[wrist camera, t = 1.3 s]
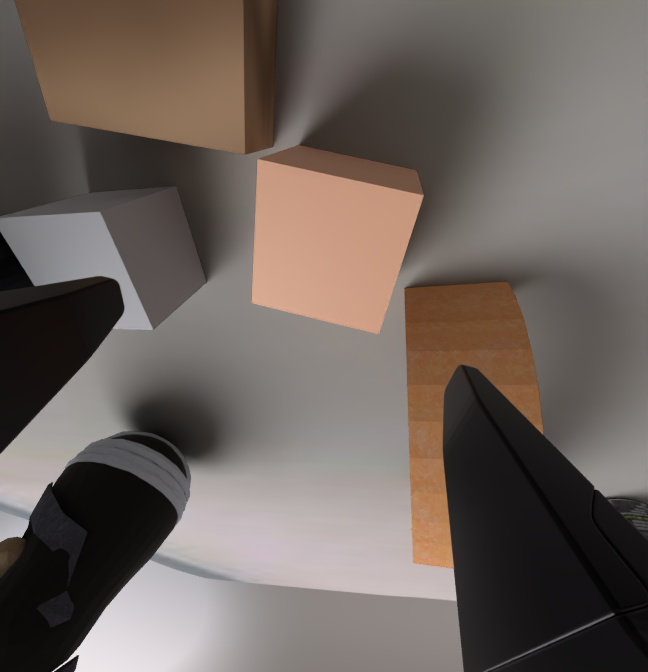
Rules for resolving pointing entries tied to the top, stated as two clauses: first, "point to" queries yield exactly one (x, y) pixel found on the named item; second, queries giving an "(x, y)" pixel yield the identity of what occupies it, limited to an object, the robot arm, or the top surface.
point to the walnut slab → (159, 67)
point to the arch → (434, 375)
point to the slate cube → (113, 248)
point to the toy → (86, 546)
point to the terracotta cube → (331, 234)
